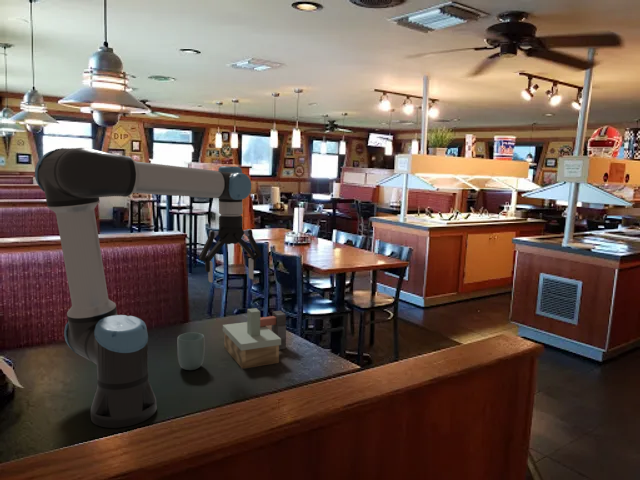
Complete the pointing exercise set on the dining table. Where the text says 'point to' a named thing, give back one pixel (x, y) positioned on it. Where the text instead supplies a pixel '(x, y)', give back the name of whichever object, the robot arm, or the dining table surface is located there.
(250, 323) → the lid
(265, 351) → the wooden box
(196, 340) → the cup
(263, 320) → the red bar
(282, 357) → the dining table surface
